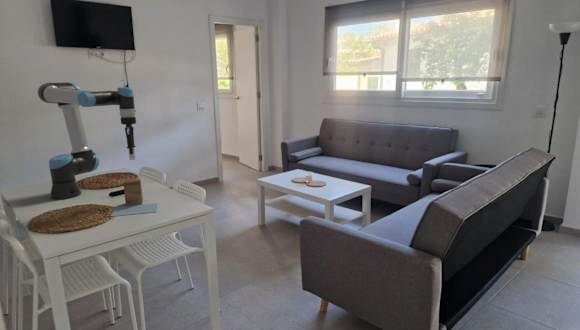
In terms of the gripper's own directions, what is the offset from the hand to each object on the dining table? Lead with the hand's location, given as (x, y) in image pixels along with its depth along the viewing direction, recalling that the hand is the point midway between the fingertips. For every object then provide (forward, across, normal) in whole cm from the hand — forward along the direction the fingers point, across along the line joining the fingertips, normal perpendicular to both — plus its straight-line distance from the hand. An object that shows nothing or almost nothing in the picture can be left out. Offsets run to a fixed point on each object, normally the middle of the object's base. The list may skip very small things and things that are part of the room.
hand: (132, 159), depth 200 cm
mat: (+22, -20, 0) cm, 30 cm away
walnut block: (+22, -10, 0) cm, 25 cm away
